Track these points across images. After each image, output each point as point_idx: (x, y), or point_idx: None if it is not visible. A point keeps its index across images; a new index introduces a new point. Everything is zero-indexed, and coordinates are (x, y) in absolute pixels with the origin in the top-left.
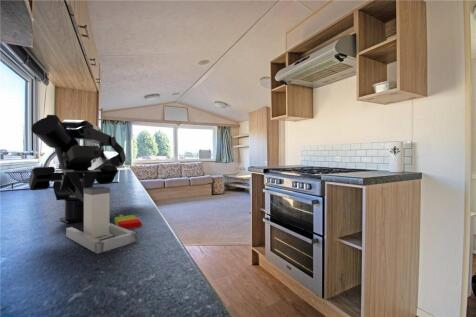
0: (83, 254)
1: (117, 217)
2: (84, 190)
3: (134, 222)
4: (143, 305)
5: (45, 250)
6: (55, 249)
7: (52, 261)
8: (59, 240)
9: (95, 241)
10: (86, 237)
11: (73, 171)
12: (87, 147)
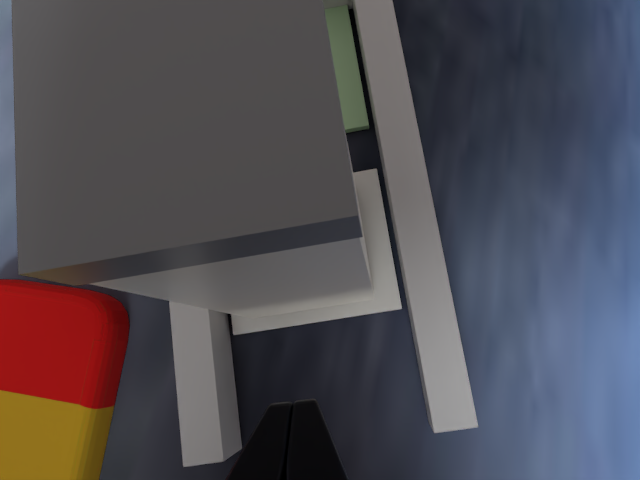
0: (434, 10)
1: None
2: (353, 184)
3: (19, 289)
4: None
5: (601, 205)
6: (550, 184)
7: (574, 11)
8: (515, 355)
9: None
10: (400, 84)
11: None
12: None
